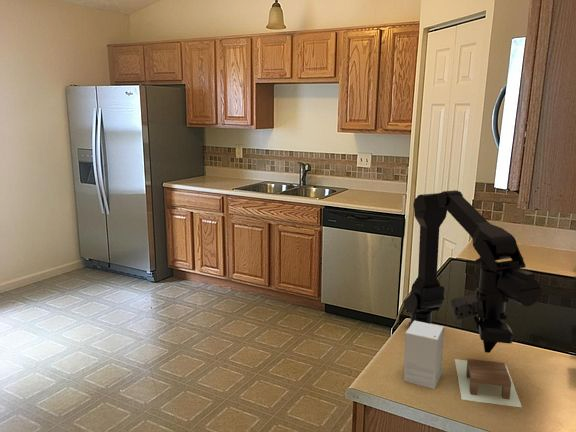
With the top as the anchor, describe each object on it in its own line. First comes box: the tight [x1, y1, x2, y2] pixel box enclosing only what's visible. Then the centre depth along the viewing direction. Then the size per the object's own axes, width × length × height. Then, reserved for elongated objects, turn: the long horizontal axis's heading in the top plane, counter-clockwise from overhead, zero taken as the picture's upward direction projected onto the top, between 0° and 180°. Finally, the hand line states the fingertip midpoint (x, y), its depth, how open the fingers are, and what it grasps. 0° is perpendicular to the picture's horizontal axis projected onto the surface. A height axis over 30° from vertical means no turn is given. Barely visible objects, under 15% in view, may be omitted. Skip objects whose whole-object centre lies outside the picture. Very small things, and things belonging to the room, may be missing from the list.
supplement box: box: [403, 320, 445, 390], centre depth 108 cm, size 7×7×13 cm
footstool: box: [466, 358, 511, 399], centre depth 105 cm, size 4×8×8 cm
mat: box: [454, 358, 522, 408], centre depth 108 cm, size 17×12×1 cm
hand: (487, 351), depth 107 cm, fingers closed
